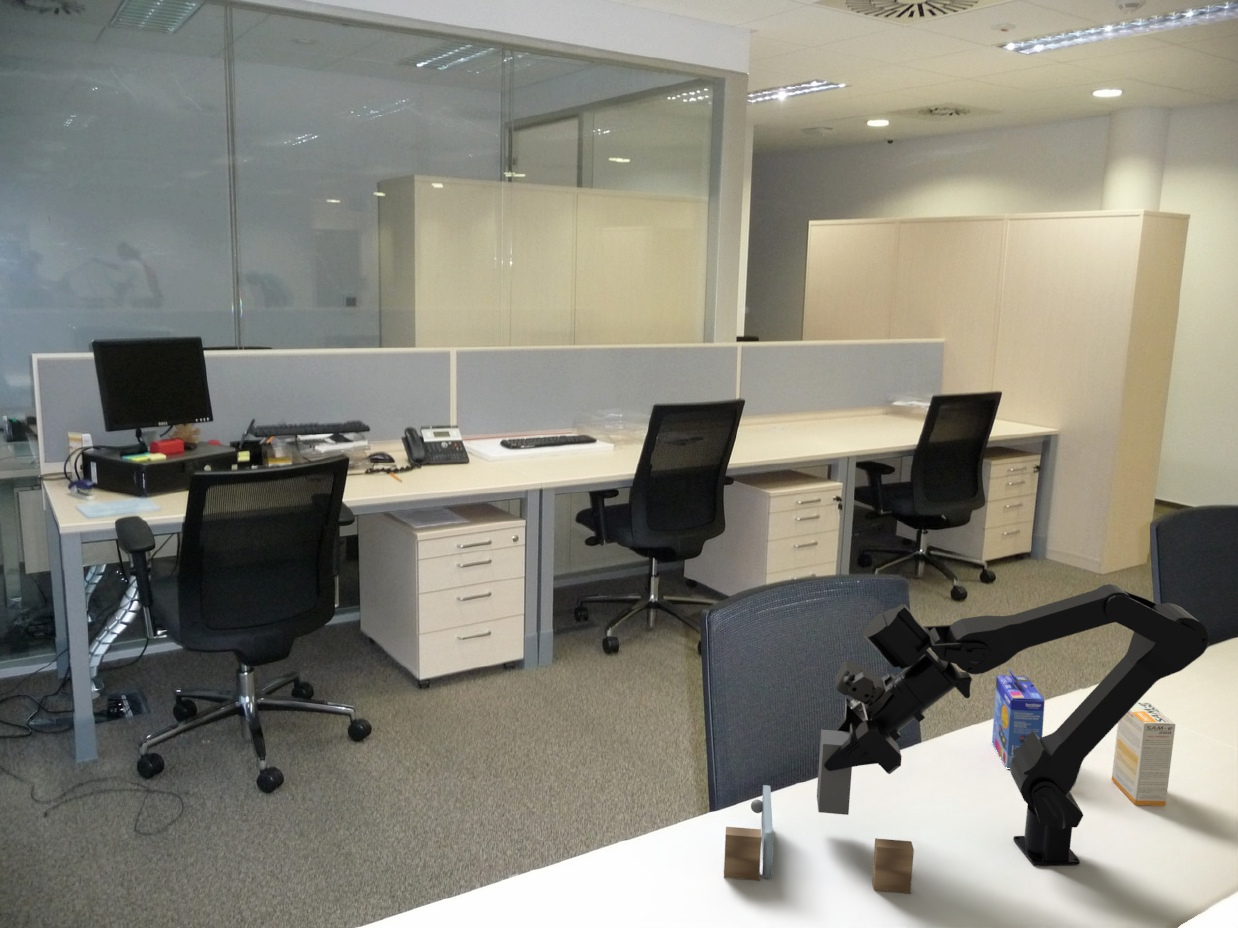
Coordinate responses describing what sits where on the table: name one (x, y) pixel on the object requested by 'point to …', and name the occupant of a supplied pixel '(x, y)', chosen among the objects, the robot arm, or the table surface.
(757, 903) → the table surface
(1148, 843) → the table surface
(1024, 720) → the ink cartridge box
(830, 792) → the tall gray pillar
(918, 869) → the table surface
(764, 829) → the door
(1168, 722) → the supplement box
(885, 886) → the wooden blocks
